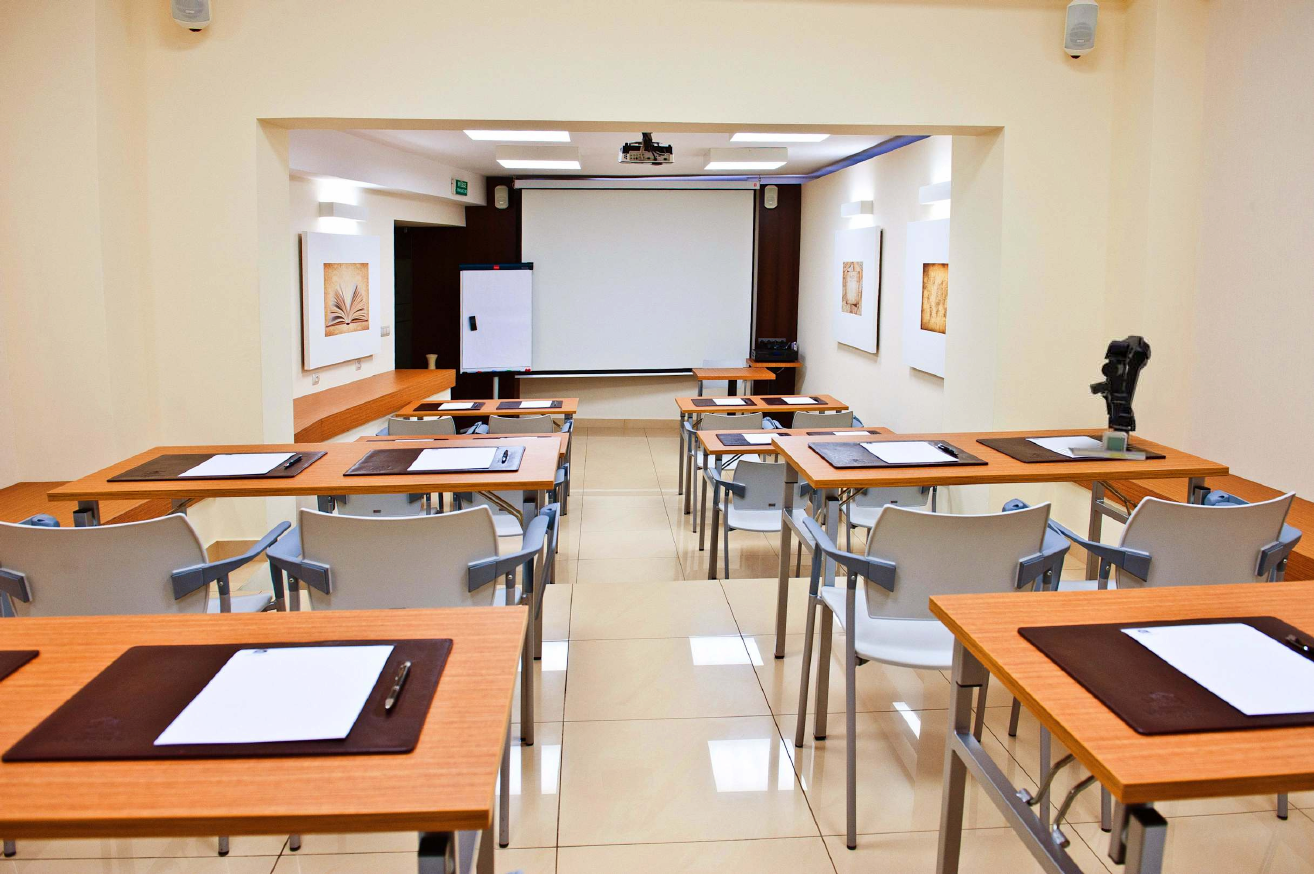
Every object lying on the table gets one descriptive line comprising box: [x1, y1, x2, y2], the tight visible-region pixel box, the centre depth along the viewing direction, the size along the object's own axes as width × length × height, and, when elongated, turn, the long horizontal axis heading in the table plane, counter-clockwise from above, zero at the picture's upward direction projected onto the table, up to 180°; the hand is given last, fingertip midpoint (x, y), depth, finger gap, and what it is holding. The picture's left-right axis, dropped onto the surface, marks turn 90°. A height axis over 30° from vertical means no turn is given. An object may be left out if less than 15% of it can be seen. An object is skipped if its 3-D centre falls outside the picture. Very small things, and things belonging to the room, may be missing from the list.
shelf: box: [1068, 447, 1146, 461], centre depth 329 cm, size 13×23×3 cm, turn 75°
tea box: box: [1100, 430, 1128, 451], centre depth 328 cm, size 5×7×8 cm
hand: (1111, 417), depth 335 cm, fingers open, 9 cm apart
